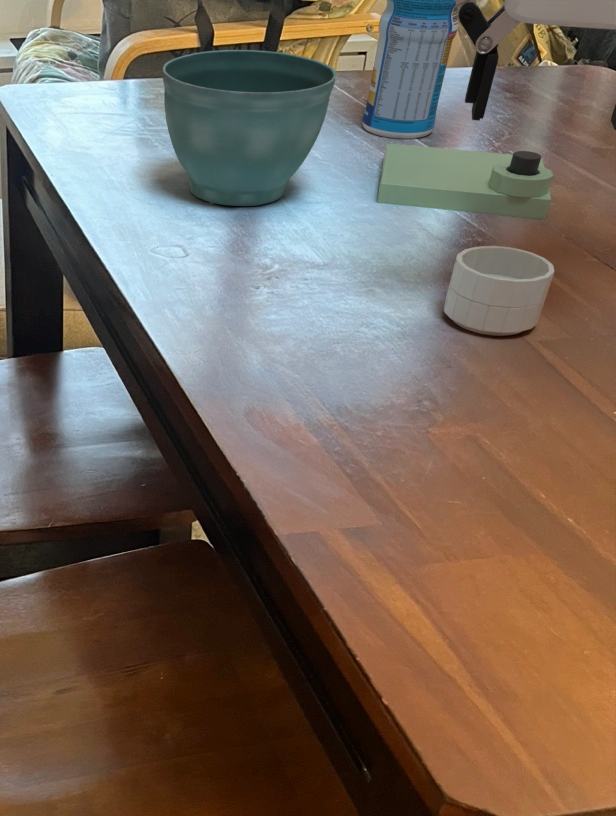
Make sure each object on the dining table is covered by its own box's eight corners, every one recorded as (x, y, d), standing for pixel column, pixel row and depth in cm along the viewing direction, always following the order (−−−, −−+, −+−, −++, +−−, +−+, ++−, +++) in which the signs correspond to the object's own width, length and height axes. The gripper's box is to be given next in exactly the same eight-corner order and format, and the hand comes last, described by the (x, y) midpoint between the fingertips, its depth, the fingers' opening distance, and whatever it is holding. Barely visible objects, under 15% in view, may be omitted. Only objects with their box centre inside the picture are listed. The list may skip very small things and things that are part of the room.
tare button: (534, 171, 102) (540, 152, 101) (536, 180, 100) (542, 160, 99) (507, 169, 102) (512, 149, 101) (508, 177, 101) (513, 157, 99)
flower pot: (174, 223, 99) (184, 93, 91) (140, 170, 110) (147, 50, 103) (338, 217, 101) (361, 88, 93) (288, 165, 112) (305, 47, 105)
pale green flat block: (536, 176, 111) (547, 140, 109) (545, 221, 101) (557, 182, 98) (382, 162, 114) (390, 126, 111) (376, 204, 104) (384, 166, 101)
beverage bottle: (388, 144, 119) (433, -77, 105) (345, 124, 124) (382, -88, 110) (448, 136, 121) (500, -80, 107) (403, 117, 127) (447, -91, 113)
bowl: (532, 308, 86) (550, 251, 83) (537, 344, 81) (557, 285, 78) (442, 297, 87) (456, 241, 84) (442, 333, 82) (457, 274, 79)
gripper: (784, -199, 63) (668, 118, 75) (488, -209, 66) (421, 98, 78) (815, -192, 58) (685, 148, 70) (492, -204, 61) (420, 125, 73)
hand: (546, 121), depth 74 cm, fingers open, 9 cm apart
